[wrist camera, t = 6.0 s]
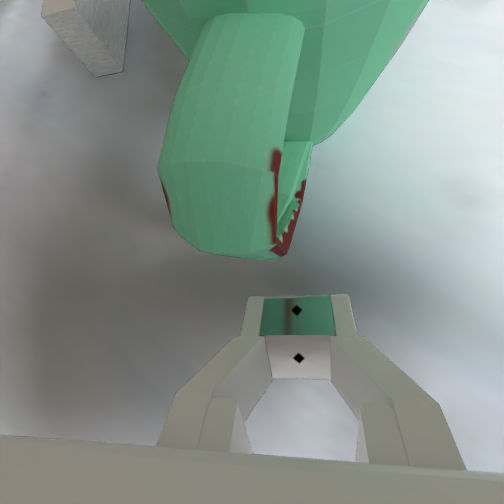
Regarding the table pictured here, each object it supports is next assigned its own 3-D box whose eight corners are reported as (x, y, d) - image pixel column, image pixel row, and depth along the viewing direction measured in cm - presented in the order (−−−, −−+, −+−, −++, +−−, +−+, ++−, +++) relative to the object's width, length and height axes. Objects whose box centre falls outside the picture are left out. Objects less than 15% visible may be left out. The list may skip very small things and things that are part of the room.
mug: (227, 36, 17) (126, -305, 8) (404, 27, 15) (562, -463, 6) (177, 275, 15) (-69, 201, 5) (382, 306, 13) (612, 275, 3)
